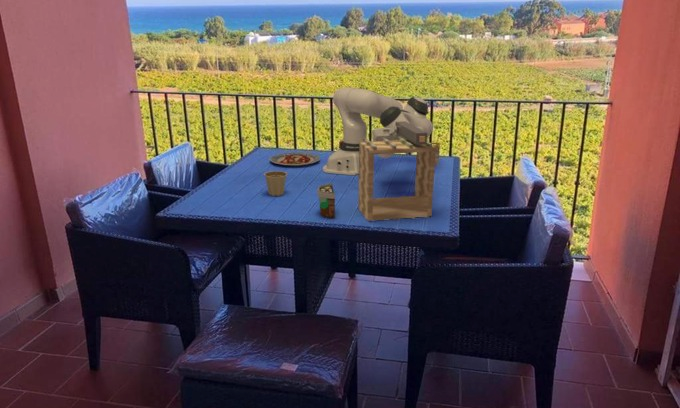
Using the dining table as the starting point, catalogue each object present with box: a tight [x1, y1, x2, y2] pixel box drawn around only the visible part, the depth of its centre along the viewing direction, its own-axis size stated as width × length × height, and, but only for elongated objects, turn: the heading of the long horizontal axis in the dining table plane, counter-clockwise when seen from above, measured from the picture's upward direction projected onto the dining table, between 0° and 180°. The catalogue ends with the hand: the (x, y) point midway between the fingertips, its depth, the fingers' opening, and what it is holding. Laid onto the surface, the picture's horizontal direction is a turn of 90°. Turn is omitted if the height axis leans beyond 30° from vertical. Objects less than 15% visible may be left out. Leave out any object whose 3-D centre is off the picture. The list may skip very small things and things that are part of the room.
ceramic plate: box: [269, 151, 321, 167], centre depth 265 cm, size 26×26×3 cm
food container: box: [316, 183, 336, 219], centre depth 190 cm, size 12×6×10 cm, turn 5°
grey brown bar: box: [395, 121, 428, 145], centre depth 189 cm, size 24×4×4 cm, turn 12°
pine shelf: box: [357, 137, 436, 222], centre depth 189 cm, size 14×24×27 cm, turn 102°
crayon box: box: [430, 142, 441, 166], centre depth 259 cm, size 7×3×12 cm, turn 98°
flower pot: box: [263, 170, 288, 197], centre depth 213 cm, size 9×9×9 cm
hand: (403, 127), depth 196 cm, fingers closed on grey brown bar, 4 cm apart
